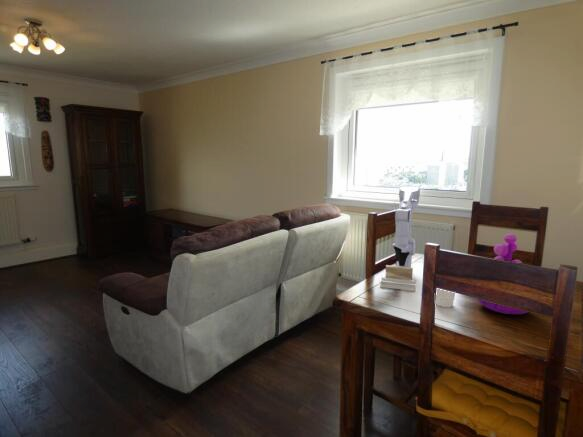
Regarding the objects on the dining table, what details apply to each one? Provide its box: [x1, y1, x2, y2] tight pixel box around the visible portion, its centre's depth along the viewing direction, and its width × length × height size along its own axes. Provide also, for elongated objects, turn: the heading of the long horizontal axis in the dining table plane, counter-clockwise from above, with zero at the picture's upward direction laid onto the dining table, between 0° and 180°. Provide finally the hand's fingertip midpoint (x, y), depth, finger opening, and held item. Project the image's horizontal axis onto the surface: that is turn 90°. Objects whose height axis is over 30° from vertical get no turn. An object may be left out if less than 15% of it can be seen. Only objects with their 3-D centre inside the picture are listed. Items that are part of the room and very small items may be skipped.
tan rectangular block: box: [385, 264, 414, 281], centre depth 161 cm, size 2×12×7 cm, turn 71°
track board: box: [379, 276, 417, 292], centre depth 155 cm, size 7×15×2 cm, turn 71°
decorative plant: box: [477, 233, 528, 315], centre depth 128 cm, size 19×18×30 cm
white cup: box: [435, 289, 456, 308], centre depth 135 cm, size 8×8×10 cm
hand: (400, 263), depth 158 cm, fingers open, 7 cm apart
